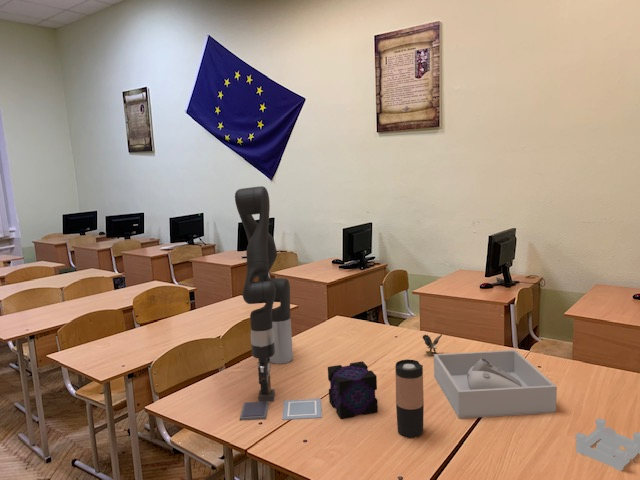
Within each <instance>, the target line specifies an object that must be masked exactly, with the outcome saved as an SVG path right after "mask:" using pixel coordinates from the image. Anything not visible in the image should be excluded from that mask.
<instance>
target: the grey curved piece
mask: <svg viewBox="0 0 640 480" xmlns="http://www.w3.org/2000/svg"><path fill="white" fill-rule="evenodd" d="M467 380H468V385H469V388H470V390H476V389H494V388H512V387H523V386H522V384H521V383H520V381H519V380H517V379H516V378H514V377H513V376H511V375H509V374H508V373H506V372H504V371H503V370H501V369H500V368H499V367H498V368H497V367H495V366H493V365H492V364H491V362H490V361H488V360H486V359H484V358H481V359H480V360H479V361H478V362H477V363H476V364H475V366H473V367H471V368H470V370H469V371H468V374H467Z"/></svg>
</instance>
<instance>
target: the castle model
mask: <svg viewBox="0 0 640 480" xmlns="http://www.w3.org/2000/svg"><path fill="white" fill-rule="evenodd" d="M606 424H607V420H606V419H602V418H600V417H598V418H597V419H596V420H595V425H596V426H595V430H594V431H592V432H590V434H588V435H587V434H584V433H581V432H577V433H576V434H575V439H576V442H575V443H576V445H575V452H576V453H577V454H579V455H584V456H586V457H588V458H590V459H593V460H595V461H597V462H600V463H602V464H604V465H607V466H610V467H612V468H613V469H615V470H617V471H619V472H622V471H623V470H624V469H625V466H626V465H628V464H629V463H630V460H631V459H632V460H631V462H632V463H633V464H635V462H637V460H635V462H634V461H633V459H635V457H637V456H638V455H640V432H639V431H635V432H634V433H633V434H632V438H629V437H627V436H624V435H622V434H619V433H617V431H616V430H614V429H613V428H611V427H610V426H606ZM596 441H597V442H596ZM595 443H596V444H595ZM594 444H595V445H596V449H595V448H593V447H592V446H593V445H594ZM622 446H623V447H624V448H623V447H622ZM620 447H622V448H623V449H625V450H623V449H622V448H620ZM638 453H639V454H638ZM637 454H638V455H637ZM636 455H637V456H636Z"/></svg>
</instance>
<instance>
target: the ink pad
mask: <svg viewBox="0 0 640 480" xmlns="http://www.w3.org/2000/svg"><path fill="white" fill-rule="evenodd" d="M269 404H270V403H269V401H260V402H258V401H248V402H247V401H245V402H243V405H242V407H241V408H242V409H241V412H240V416H239V421H253V420H254V421H255V420H256V421H257V420H258V421H259V420H266V419H267V418H268V417H267V415H268V409H269Z"/></svg>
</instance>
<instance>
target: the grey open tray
mask: <svg viewBox="0 0 640 480" xmlns="http://www.w3.org/2000/svg"><path fill="white" fill-rule="evenodd" d="M481 358H484V359H486V360H488V361H490V362H491V364H492V365H493V366H495V367H497V368H498V367H499V368H500V369H501V370H503V371H504V372H506V373H508V374H509V375H511V376H513V377H514V378H516V379H517V380H519V381H520V383H521V384H522V386H523V387H512V388H494V389H476V390H470V388H469V385H468V380H467V374H468V371H469V370H470V368H471V367H473V366H475V364H476V363H477V362H478V361H479V360H480V359H481ZM433 377H434V379H435V380H436V382H437V384H438V385H439V388H440V389H441V391H442V393H443V394H444V396H445V397H446V399H447V401H448V403H449V404H450V406H451V408H452V409H453V411H454V413H455V414H456V416H457V418H458V419H471V418H472V419H473V418H489V417H490V418H491V417H506V416H507V417H509V416H512V417H513V416H523V415H524V416H526V415H541V414H556V413H557V394H558V393H557V392H558V391H557V389H558V387H557V385H556V384H555V383H554V382H553V381H551V380H550V379H549V378H548V377H547V376H545V375H544V374H543V373H542V372H541V371H540V370H539V369H537V367H536V366H535V365H533V364H532V363H531V361H529V360H528V359H526V358H525V357H524V356H523V355H522V354H521V353H520V352H518V350H517V349H509V350H490V351H489V350H488V351H473V352H472V351H471V352H452V353H438V354H433Z"/></svg>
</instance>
